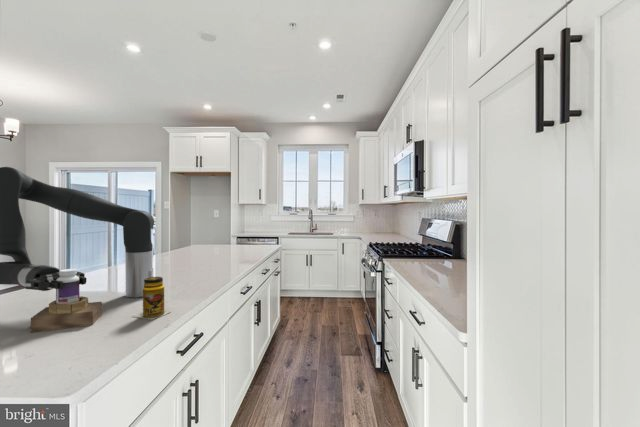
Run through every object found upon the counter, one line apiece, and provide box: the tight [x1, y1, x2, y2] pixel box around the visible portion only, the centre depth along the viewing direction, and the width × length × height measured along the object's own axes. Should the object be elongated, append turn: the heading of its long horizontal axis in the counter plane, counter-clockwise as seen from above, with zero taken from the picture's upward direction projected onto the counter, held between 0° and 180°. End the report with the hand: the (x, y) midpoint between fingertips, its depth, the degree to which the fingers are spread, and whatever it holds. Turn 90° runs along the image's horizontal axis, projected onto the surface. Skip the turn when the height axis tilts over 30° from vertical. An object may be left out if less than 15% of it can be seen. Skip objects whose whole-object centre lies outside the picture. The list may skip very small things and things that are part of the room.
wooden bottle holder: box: [30, 295, 103, 333], centre depth 90 cm, size 14×10×6 cm
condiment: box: [132, 276, 171, 321], centre depth 97 cm, size 7×8×12 cm
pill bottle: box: [55, 268, 81, 305], centre depth 90 cm, size 5×5×10 cm
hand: (73, 283), depth 89 cm, fingers closed on pill bottle, 5 cm apart
